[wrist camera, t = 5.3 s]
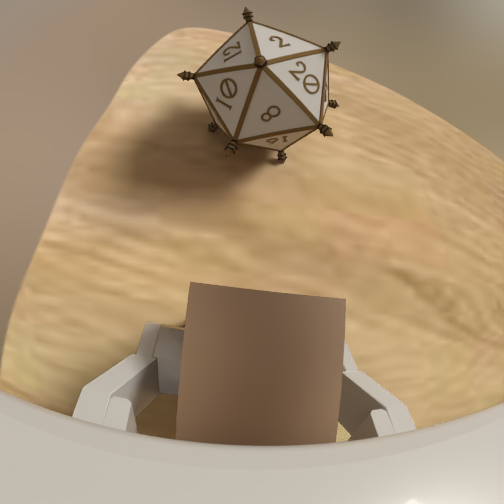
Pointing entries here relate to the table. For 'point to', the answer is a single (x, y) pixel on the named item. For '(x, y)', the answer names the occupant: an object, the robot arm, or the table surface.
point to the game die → (266, 87)
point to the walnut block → (260, 367)
